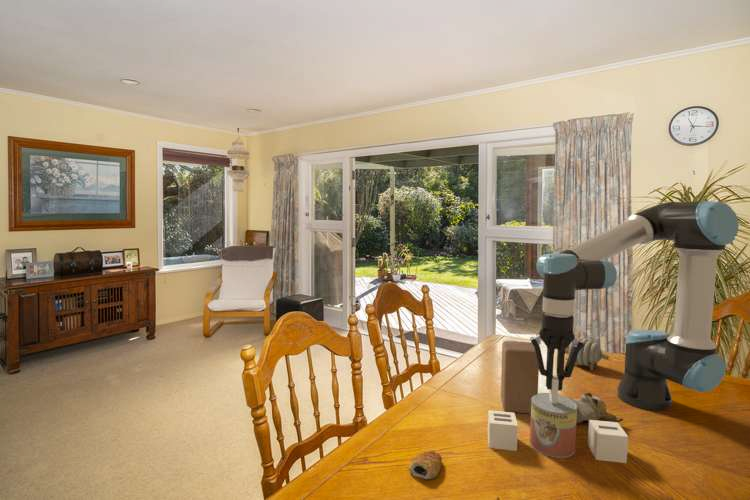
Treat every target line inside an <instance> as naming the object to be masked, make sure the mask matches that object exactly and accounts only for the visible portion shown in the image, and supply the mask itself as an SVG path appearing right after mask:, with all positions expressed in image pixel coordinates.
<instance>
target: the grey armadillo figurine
mask: <svg viewBox="0 0 750 500" xmlns="http://www.w3.org/2000/svg"><path fill="white" fill-rule="evenodd" d="M577 339H578V340H580V341H581V342H582V343H583V344H584V346H583V347H582V349H581V350H580V351H579V353H578V356H577V359H576V362H575V364H576V363H577V364H578V365H580V366H583V367H584V366H586V367H589V370H590V371H594V368H597V367H598V363H599V362H600V361H601V360H602V359H604V360H609V359H610V356H609V355H606V354H604V353H603V352H602V349H601V347H600V345H599V344H598V343H595V342H594V341H593V340H589V339H588V338H577ZM571 348H572V342H571V343H570V344H569V346H568V347H567V348H566V349H565V355H569V354H570V351H571Z"/></svg>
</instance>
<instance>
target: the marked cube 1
mask: <svg viewBox="0 0 750 500" xmlns="http://www.w3.org/2000/svg"><path fill="white" fill-rule="evenodd" d="M515 413H516V412H507V411H500V410H489V409H488V411H487V442H488V449H497V450H504V451H512V452H514V451H515V452H517V451H518V433H519V432H518V428H519V425H518V422H517V418H516V414H515Z"/></svg>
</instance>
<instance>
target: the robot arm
mask: <svg viewBox="0 0 750 500" xmlns="http://www.w3.org/2000/svg"><path fill="white" fill-rule="evenodd" d="M739 225H740V224H739V219H738V215H737V214H736V212H735V210H733V208H732V207H731V206H730V205H729V204H727V203H725V202H722V201H711V200H710V201H709V200H703V201H667V202H663V203H659V204H656V205H652V206H650V207H648V208H646V209H643V210H641V211H638V212H636V213H633V214H632V215H630V216H628V217H627V218H626V220H625V221H624V222H622V223H620V224H618V225H616V226H614V227H612V228H610V229H608V230H605V231H603V232H601V233H599V234H597V235H594V236H593V237H590V238H588V239H586V240H583V241H582V242H580V243H577V244H574V246H571V247H569V248H567V249H565V250H563V251H561V252H559V253H557V252H555V253H545V254H542V255H540V257H538V260H537V262H536V271H537V273H538V275H540V276H539V277H542V278H543V281H542V283H543V288H542V290H543V291H542V307H541V308H542V311H543V312H542V313H541V327H540V330H539V332H538V335H536V336H531V337H529V340H530V342H532V344H533V345H534V349H535V353H536V358H537V363H538V367H539V373H540V375H542V376H544V377H545V387H546V389H547V390H549V393H550V394H549V399H550V401H551V403H555V404H557V402H558V395H559V391H563V383H564V379H565V378H571V377H572V374H573V370H574V367H575V365H576V359H577V356H578V353H579V351H580V350H581V349H582V347H583V346H584V344H583V343H582V342H581V341H580V340H578V339H579V338H577V337H576V336H575V334H574V321H575V320H574V318H575V317H574V316H573V315H574V314H575V299H576V291H581V290H582V291H583V290H584V291H586V290H603V289H609V288H611V287H613V286H614V285H615V284H616V282H617V279H618V272H617V268H616V266H615V265H614V264H613V263H612V262H611V261H609V260H607V259H610V258H612V257H613V256H616V255H618V254H619V253H621V252H624V251H626V250H628V249H630V248H632V247H634V246H636V245H638V244H640V245H645V244H649V243H651V242H655V241H673V249H674V250H675V251H676V252H677V253H678V256H679V257H678V258H679V259H678V267H677V268H678V271H677V280H676V281H677V282H676V283H677V284H676V296H675V297H676V298H675V312H674V324H673V325H674V326H673V333H672V334H669V333H668V332H666V331H663V330H657V329H655V330H654V329H635V330H633V329H632V330H631V331H629V332H628V333H627V334H626V335H627V336H626V341H625V355H624V372H623V373H624V374H623V376H622V377H621V379H620V381H619V384H618V386H617V388H616V389H617V391H616V395H617V397H618V398H619V400H621V401H623V402H624V403H626V404H628V405H630V406H633V407H637V408H641V409H644V410H651V411H665V410H669V409H671V408H672V405H673V398H672V394H671V391H670V388H669V385H668V381H671V382H673V383H675V384H678V385H680V386H682V387H684V388H686V389H688V390H689V389H690V390H693V391H696V392H700V393H707V392H710V391H712V390H714V389H716V388H717V387H718V386H719V384H721V382H722V381H723V379H724V378H725V374H726V373H727V372H726V371H727V362H726V361H725V358H724V357H722V356H721V355H720V354H717V347H718V346H717V344H716V343H715V342H714V341H713V340H712V338H711V337H712V325H713V312H714V301H715V289H716V288H715V287H716V278H717V277H716V275H717V264H718V263H717V262H718V256H719V255H721V254H722V253H724V252H725V251H726V246H727V245H730V244H731V243H733V242H734V241H735V239H736V237H737V235H738V233H739ZM541 341H542V342H543V343H544V345H545V346H546V363H544V359H543V354H542V350H541V346H540V345H541ZM571 342H572V348H571V351H570V354H568V357H567V361H566V364H565V355H566V353H565V349H566V348H567V347H568V346H569V344H570V343H571ZM555 350H557V354H556V355H557V356H556V375H554V359H555ZM545 364H546V365H545ZM545 366H546V367H545ZM545 368H546V369H545ZM667 380H668V381H667Z"/></svg>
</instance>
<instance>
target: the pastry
mask: <svg viewBox="0 0 750 500" xmlns="http://www.w3.org/2000/svg"><path fill="white" fill-rule="evenodd" d="M442 460H443V458H442V456H441V454H440V453H437V452H436V451H433V450H429V451H424V452H420V453H419V454H417V455H416V456H415V457H413V459H412V460H411V463H410V466H409V467H408V471H409V473H410V474H411V475H412V476H413V477H416V478H417V477H418V478H421V479H424V480H434V479H435V478H436V477H438V475H439V473H440V471H441V469H442V468H441V467H442V464H443V463H442Z"/></svg>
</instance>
